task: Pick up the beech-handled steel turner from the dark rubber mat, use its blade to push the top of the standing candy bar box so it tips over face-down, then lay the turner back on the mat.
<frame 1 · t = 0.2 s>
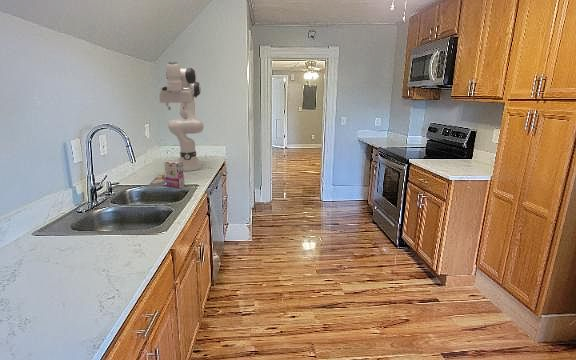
hand: (176, 109, 219), 47 cm above the counter, tool pointing down, fingers open, 8 cm apart
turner: (159, 181, 222), point 1 cm above the counter, touching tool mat
candy bar box: (175, 187, 211), on the counter
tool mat: (159, 182, 222), on the counter
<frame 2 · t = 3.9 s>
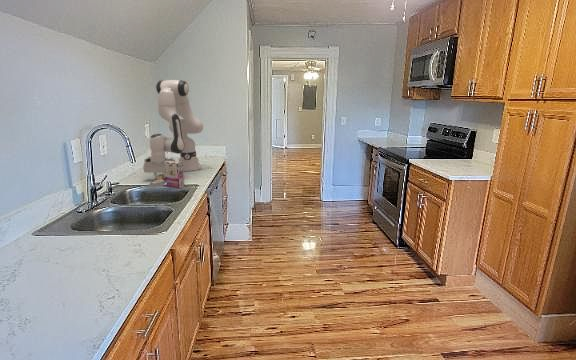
hand: (160, 178, 225), 2 cm above the counter, tool pointing down, fingers closed on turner, 3 cm apart
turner: (159, 181, 222), point 1 cm above the counter, touching gripper, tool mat
everything else where it was.
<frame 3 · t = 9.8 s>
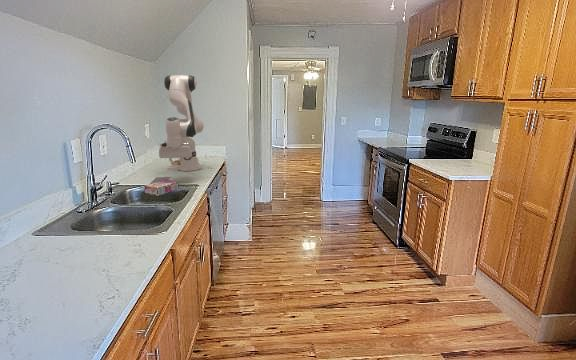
hand: (176, 164, 216), 13 cm above the counter, tool pointing down, fingers closed on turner, 3 cm apart
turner: (175, 167, 212), point 12 cm above the counter, touching gripper
candy bar box: (172, 184, 208), point 3 cm above the counter
when the fingers open (3 cm above the counter, at t = 17.1 s): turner drops 2 cm, resting on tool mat.
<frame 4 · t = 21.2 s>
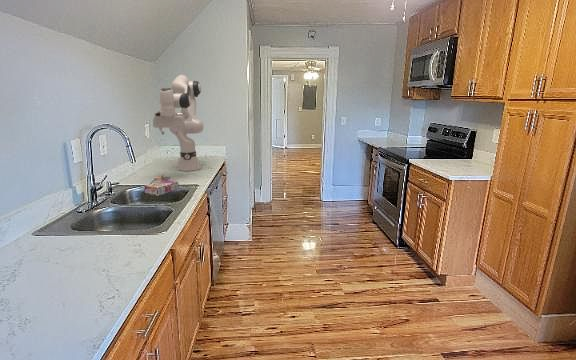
hand: (170, 134, 223), 31 cm above the counter, tool pointing down, fingers open, 8 cm apart
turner: (158, 182, 220), point 1 cm above the counter, touching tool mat
everything else where it was.
at the end: candy bar box tilted 91°; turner inside the target area (1.1 cm from its centre), point 0.6 cm above the counter; the gripper is holding nothing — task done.
